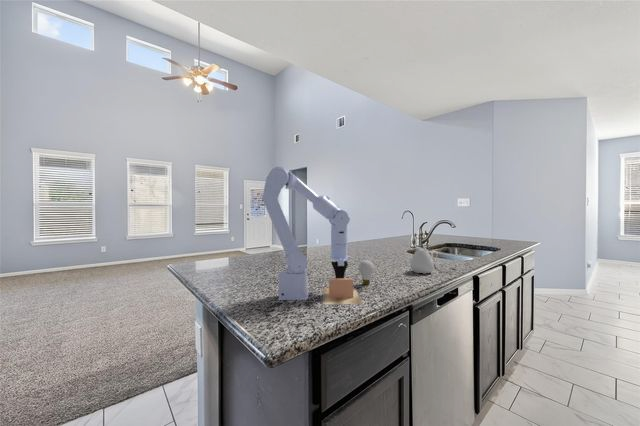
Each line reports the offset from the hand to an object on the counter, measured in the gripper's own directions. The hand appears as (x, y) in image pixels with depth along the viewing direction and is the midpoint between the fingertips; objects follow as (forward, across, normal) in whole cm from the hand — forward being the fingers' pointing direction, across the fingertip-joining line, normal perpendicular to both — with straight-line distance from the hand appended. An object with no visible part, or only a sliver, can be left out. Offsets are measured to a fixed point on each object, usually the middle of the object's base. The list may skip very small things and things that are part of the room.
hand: (339, 282), depth 95 cm
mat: (+4, -4, 0) cm, 5 cm away
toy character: (+4, +32, -41) cm, 52 cm away
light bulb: (+4, +10, -11) cm, 15 cm away
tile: (+3, -6, 0) cm, 6 cm away
